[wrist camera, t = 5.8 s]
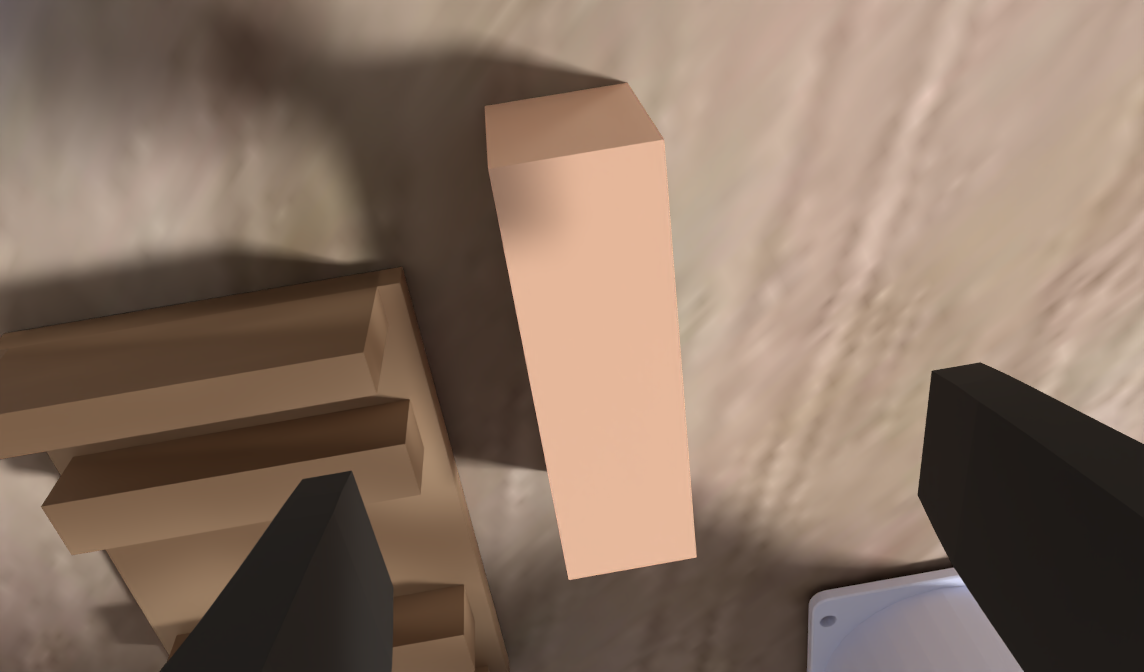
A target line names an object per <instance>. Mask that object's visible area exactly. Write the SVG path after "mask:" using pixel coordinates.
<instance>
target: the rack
mask: <svg viewBox="0 0 1144 672" xmlns="http://www.w3.org/2000/svg"><path fill="white" fill-rule="evenodd" d="M40 452H47V454H48V455H49V457H50V459H51V460H52V462H53V464H54V465H55V467H56V469H57V470H58V472H59V474H60V475H61V476H60V478H59V479H58V481H57V483H56V484H55V486H54V487H53V489H52V490H51V492H50V494H49V495H48V497H47V498H46V500H45V501H44V503H43V504H42V506H41V507H42V509H43V510H44V512H45V514H46V515H47V517H48V518H49V520H50V522H51V523H52V525H53V526H54V528H55V529H56V531H57V533H58V534H59V536H60V537H61V539H62V540H63V542H64V544H65V545H66V547H67V548H68V550H69V551H70V553H71V555H76V554H82V553H88V552H94V551H99V550H106V552H107V553H108V555H109V557H110V558H111V560H112V562H113V563H114V565H115V567H116V568H117V570H118V571H119V573H120V575H121V576H122V578H123V580H124V581H125V583H126V585H127V586H128V588H129V590H130V591H131V593H132V595H133V596H134V598H135V600H136V601H137V603H138V605H139V606H140V608H141V610H142V611H143V613H144V615H145V616H146V618H147V620H148V621H149V623H150V625H151V626H152V628H153V630H154V631H155V633H156V635H157V636H158V638H159V640H160V641H161V643H162V645H163V646H164V648H165V649H166V651H167V653H168V654H169V658H168V661H169V659H170V658H171V657H172V656H173V654H174V653H175V652H176V651H177V649H178V648H179V647H180V646H181V644H182V643H183V642H184V641H185V639H186V638H187V637H188V636H189V634H190V633H191V632H192V631H193V629H194V628H195V627H196V625H197V624H198V623H199V621H200V620H201V619H202V617H203V616H204V615H205V613H206V612H207V611H208V609H209V608H210V606H211V605H212V604H213V602H214V601H215V600H216V598H217V597H218V596H219V594H220V593H221V592H222V590H223V589H224V588H225V586H226V585H227V583H228V582H229V581H230V579H231V578H232V577H233V575H234V574H235V573H236V571H237V570H238V568H239V567H240V566H241V564H242V563H243V561H244V560H245V559H246V557H247V556H248V554H249V553H250V552H251V550H252V549H253V547H254V546H255V545H256V543H257V542H258V540H259V539H260V537H261V536H262V535H263V533H264V532H265V530H266V529H267V527H268V526H269V525H270V523H271V522H272V520H273V519H274V517H275V516H276V515H277V513H278V512H279V510H280V509H281V508H282V506H283V505H284V503H285V502H286V501H287V499H288V498H289V497H290V495H291V494H292V492H293V491H294V490H295V488H296V487H297V486H298V484H299V483H300V482H301V480H302V479H306V478H311V477H317V476H323V475H329V474H335V473H340V472H346V471H352V472H353V475H354V478H355V481H356V483H357V486H358V489H359V492H360V495H361V497H362V500H363V503H364V506H365V509H366V511H367V514H368V517H369V520H370V523H371V525H372V528H373V531H374V534H375V537H376V539H377V542H378V545H379V548H380V551H381V553H382V556H383V559H384V562H385V565H386V568H387V570H388V573H389V576H390V579H391V582H392V584H393V657H392V672H510V668H509V659H508V655H507V652H506V648H505V644H504V641H503V637H502V633H501V630H500V626H499V622H498V618H497V615H496V611H495V607H494V604H493V600H492V596H491V593H490V589H489V585H488V582H487V578H486V574H485V570H484V567H483V563H482V559H481V556H480V552H479V548H478V545H477V541H476V537H475V534H474V530H473V526H472V522H471V519H470V515H469V511H468V508H467V504H466V500H465V497H464V493H463V489H462V485H461V482H460V478H459V474H458V471H457V467H456V463H455V460H454V456H453V452H452V449H451V445H450V441H449V437H448V434H447V430H446V426H445V423H444V419H443V415H442V412H441V408H440V404H439V401H438V397H437V393H436V389H435V386H434V382H433V378H432V375H431V371H430V367H429V364H428V360H427V356H426V353H425V349H424V345H423V341H422V338H421V334H420V330H419V327H418V323H417V319H416V316H415V312H414V308H413V305H412V301H411V297H410V293H409V290H408V286H407V282H406V279H405V275H404V271H403V268H402V267H397V268H392V269H386V270H380V271H374V272H368V273H362V274H356V275H350V276H344V277H338V278H332V279H326V280H320V281H314V282H308V283H302V284H296V285H290V286H284V287H279V288H273V289H267V290H261V291H255V292H249V293H243V294H237V295H231V296H225V297H219V298H213V299H207V300H201V301H195V302H189V303H183V304H177V305H171V306H166V307H160V308H154V309H148V310H142V311H136V312H130V313H124V314H118V315H112V316H106V317H100V318H94V319H88V320H82V321H76V322H70V323H64V324H58V325H53V326H47V327H41V328H35V329H29V330H23V331H17V332H11V333H5V334H3V336H2V337H1V338H0V459H5V458H10V457H16V456H22V455H28V454H34V453H40ZM168 661H167V662H168Z"/></svg>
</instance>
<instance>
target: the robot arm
mask: <svg viewBox="0 0 1144 672" xmlns="http://www.w3.org/2000/svg"><path fill="white" fill-rule="evenodd" d="M918 497H919V499H920V501H921V503H922V505H923V507H924V509H925V511H926V513H927V516H928V518H929V520H930V522H931V524H932V526H933V528H934V530H935V532H936V534H937V536H938V538H939V540H940V542H941V544H942V546H943V548H944V550H945V552H946V554H947V555H948V557H949V559H950V561H951V563H952V565H953V568H948V569H942V570H937V571H931V572H925V573H920V574H914V575H908V576H903V577H897V578H892V579H886V580H880V581H875V582H869V583H863V584H858V585H852V586H847V587H841V588H835V589H830V590H824V591H821V592H818V593H817V594H815V595H814V596H813V597H812V598H811V599H810V602H809V614H808V657H807V672H1144V444H1142V443H1140V442H1138V441H1136V440H1134V439H1132V438H1130V437H1128V436H1126V435H1124V434H1122V433H1120V432H1118V431H1117V430H1115V429H1113V428H1111V427H1109V426H1107V425H1105V424H1103V423H1101V422H1099V421H1097V420H1095V419H1093V418H1091V417H1089V416H1087V415H1085V414H1083V413H1081V412H1079V411H1077V410H1076V409H1074V408H1072V407H1070V406H1068V405H1066V404H1064V403H1062V402H1060V401H1058V400H1056V399H1054V398H1052V397H1050V396H1048V395H1046V394H1044V393H1043V392H1041V391H1039V390H1037V389H1035V388H1033V387H1031V386H1029V385H1027V384H1025V383H1023V382H1021V381H1019V380H1017V379H1015V378H1013V377H1011V376H1009V375H1007V374H1005V373H1002V372H1000V371H998V370H996V369H994V368H992V367H989V366H987V365H985V364H983V363H974V364H969V365H963V366H957V367H951V368H945V369H940V370H934V371H932V374H931V382H930V391H929V400H928V409H927V418H926V426H925V435H924V444H923V453H922V462H921V470H920V479H919V488H918ZM392 657H393V584H392V582H391V579H390V576H389V573H388V570H387V568H386V565H385V562H384V559H383V556H382V553H381V551H380V548H379V545H378V542H377V539H376V537H375V534H374V531H373V528H372V525H371V523H370V520H369V517H368V514H367V511H366V509H365V506H364V503H363V500H362V497H361V495H360V492H359V489H358V486H357V483H356V481H355V478H354V475H353V472H352V471H346V472H340V473H335V474H329V475H323V476H317V477H311V478H306V479H302V480H301V482H300V483H299V484H298V486H297V487H296V488H295V490H294V491H293V492H292V494H291V495H290V497H289V498H288V499H287V501H286V502H285V503H284V505H283V506H282V508H281V509H280V510H279V512H278V513H277V515H276V516H275V517H274V519H273V520H272V522H271V523H270V525H269V526H268V527H267V529H266V530H265V532H264V533H263V535H262V536H261V537H260V539H259V540H258V542H257V543H256V545H255V546H254V547H253V549H252V550H251V552H250V553H249V554H248V556H247V557H246V559H245V560H244V561H243V563H242V564H241V566H240V567H239V568H238V570H237V571H236V573H235V574H234V575H233V577H232V578H231V579H230V581H229V582H228V583H227V585H226V586H225V588H224V589H223V590H222V592H221V593H220V594H219V596H218V597H217V598H216V600H215V601H214V602H213V604H212V605H211V606H210V608H209V609H208V611H207V612H206V613H205V615H204V616H203V617H202V619H201V620H200V621H199V623H198V624H197V625H196V627H195V628H194V629H193V631H192V632H191V633H190V634H189V636H188V637H187V638H186V639H185V641H184V642H183V643H182V644H181V646H180V647H179V648H178V649H177V651H176V652H175V653H174V654H173V656H172V657H171V658H170V659H169V661H168V662H167V663H166V664H165V666H164V667H163V668H162V669H161V670H160V672H392Z"/></svg>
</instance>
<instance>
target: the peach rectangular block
mask: <svg viewBox="0 0 1144 672" xmlns="http://www.w3.org/2000/svg"><path fill="white" fill-rule="evenodd" d="M485 124H486V141H487V159H488V171H489V176H490V181H491V186H492V191H493V196H494V202H495V207H496V212H497V217H498V222H499V227H500V232H501V237H502V242H503V247H504V253H505V258H506V263H507V268H508V273H509V278H510V283H511V288H512V293H513V298H514V304H515V309H516V314H517V319H518V324H519V329H520V334H521V339H522V344H523V350H524V355H525V360H526V365H527V370H528V375H529V380H530V385H531V390H532V395H533V401H534V406H535V411H536V416H537V421H538V426H539V431H540V436H541V441H542V447H543V452H544V457H545V462H546V467H547V472H548V477H549V482H550V487H551V492H552V498H553V503H554V508H555V513H556V518H557V523H558V528H559V533H560V538H561V544H562V549H563V554H564V559H565V564H566V569H567V574H568V579H569V580H572V579H578V578H583V577H589V576H595V575H600V574H606V573H612V572H617V571H623V570H628V569H634V568H640V567H645V566H651V565H657V564H662V563H668V562H674V561H679V560H685V559H691V558H696V557H697V556H696V543H695V530H694V517H693V505H692V492H691V479H690V466H689V453H688V440H687V427H686V415H685V402H684V389H683V376H682V363H681V350H680V337H679V325H678V312H677V299H676V286H675V273H674V260H673V247H672V234H671V222H670V209H669V196H668V183H667V170H666V157H665V144H664V139H663V137H662V135H661V134H660V132H659V131H658V129H657V128H656V126H655V125H654V123H653V121H652V120H651V118H650V117H649V115H648V114H647V112H646V111H645V109H644V108H643V106H642V104H641V103H640V101H639V100H638V98H637V97H636V95H635V94H634V92H633V90H632V89H631V87H630V86H629V84H628V83H622V84H616V85H610V86H604V87H597V88H591V89H585V90H579V91H573V92H567V93H561V94H555V95H549V96H543V97H537V98H531V99H524V100H518V101H512V102H506V103H500V104H494V105H488V106H485Z"/></svg>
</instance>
